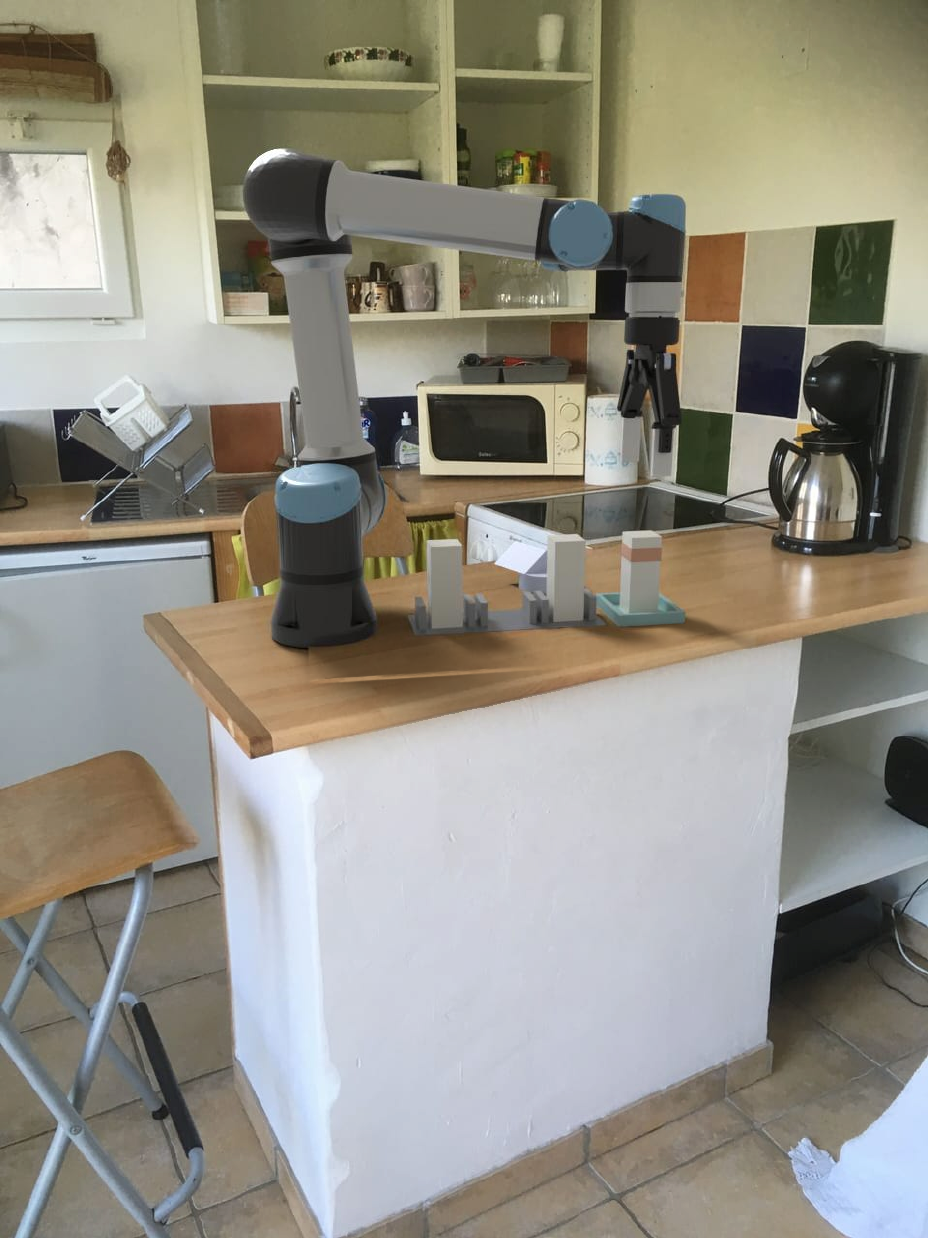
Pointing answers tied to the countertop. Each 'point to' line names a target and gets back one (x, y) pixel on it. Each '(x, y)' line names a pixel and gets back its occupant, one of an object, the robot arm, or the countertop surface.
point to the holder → (504, 616)
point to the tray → (665, 614)
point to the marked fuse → (640, 571)
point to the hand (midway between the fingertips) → (644, 468)
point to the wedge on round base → (527, 566)
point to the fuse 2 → (565, 577)
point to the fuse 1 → (444, 583)
